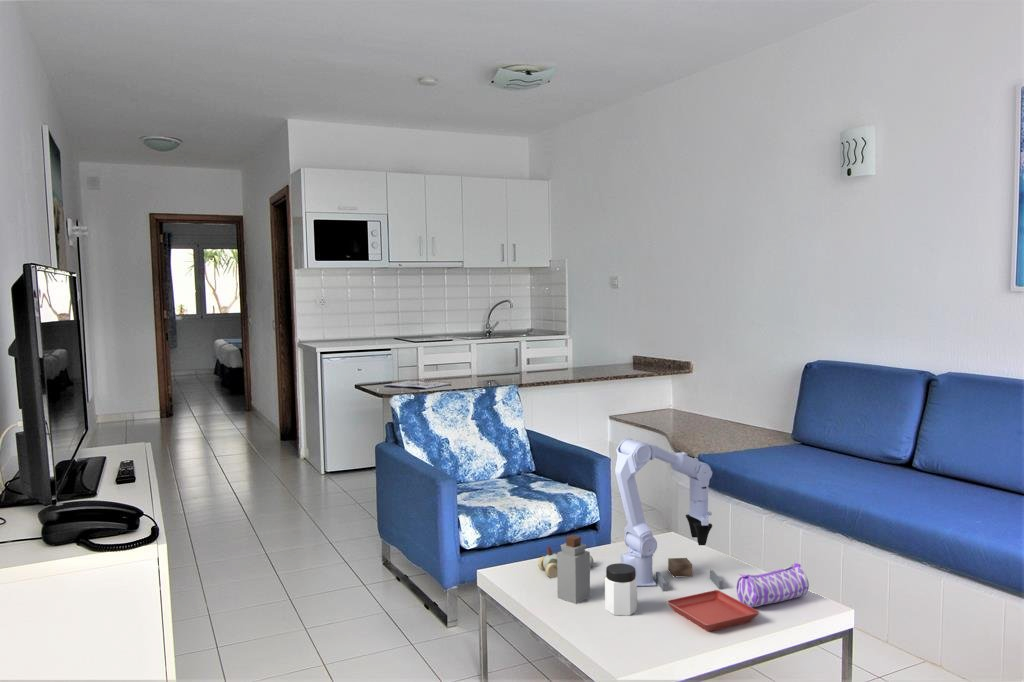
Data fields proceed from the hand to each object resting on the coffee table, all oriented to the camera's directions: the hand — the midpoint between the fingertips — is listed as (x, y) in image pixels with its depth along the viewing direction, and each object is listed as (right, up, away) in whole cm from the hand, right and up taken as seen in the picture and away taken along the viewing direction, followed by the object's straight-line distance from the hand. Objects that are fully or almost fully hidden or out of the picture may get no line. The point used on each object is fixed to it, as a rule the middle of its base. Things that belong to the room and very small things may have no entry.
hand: (698, 541), depth 246 cm
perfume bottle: (-41, -12, -19) cm, 47 cm away
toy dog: (-42, -11, +3) cm, 44 cm away
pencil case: (+16, -11, -23) cm, 31 cm away
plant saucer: (-4, -13, -33) cm, 36 cm away
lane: (-6, -11, -11) cm, 16 cm away
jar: (-29, -12, -28) cm, 42 cm away
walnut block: (-6, -10, -1) cm, 12 cm away
